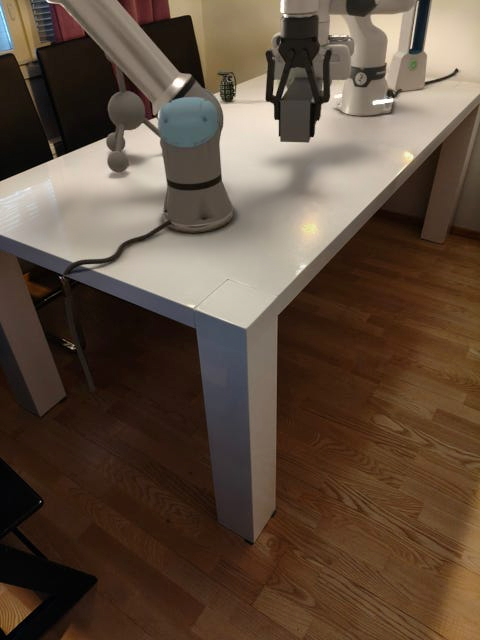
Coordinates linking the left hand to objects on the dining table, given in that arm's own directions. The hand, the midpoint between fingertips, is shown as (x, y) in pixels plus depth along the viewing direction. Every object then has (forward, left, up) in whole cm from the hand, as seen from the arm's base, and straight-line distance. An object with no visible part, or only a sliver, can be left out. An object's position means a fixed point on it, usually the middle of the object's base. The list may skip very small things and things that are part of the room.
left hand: (296, 134), depth 109 cm
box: (+9, +2, -1) cm, 10 cm away
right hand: (+18, +5, +3) cm, 19 cm away
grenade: (+66, +56, -13) cm, 87 cm away
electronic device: (+103, -1, -13) cm, 104 cm away
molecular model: (+4, +49, -13) cm, 51 cm away
